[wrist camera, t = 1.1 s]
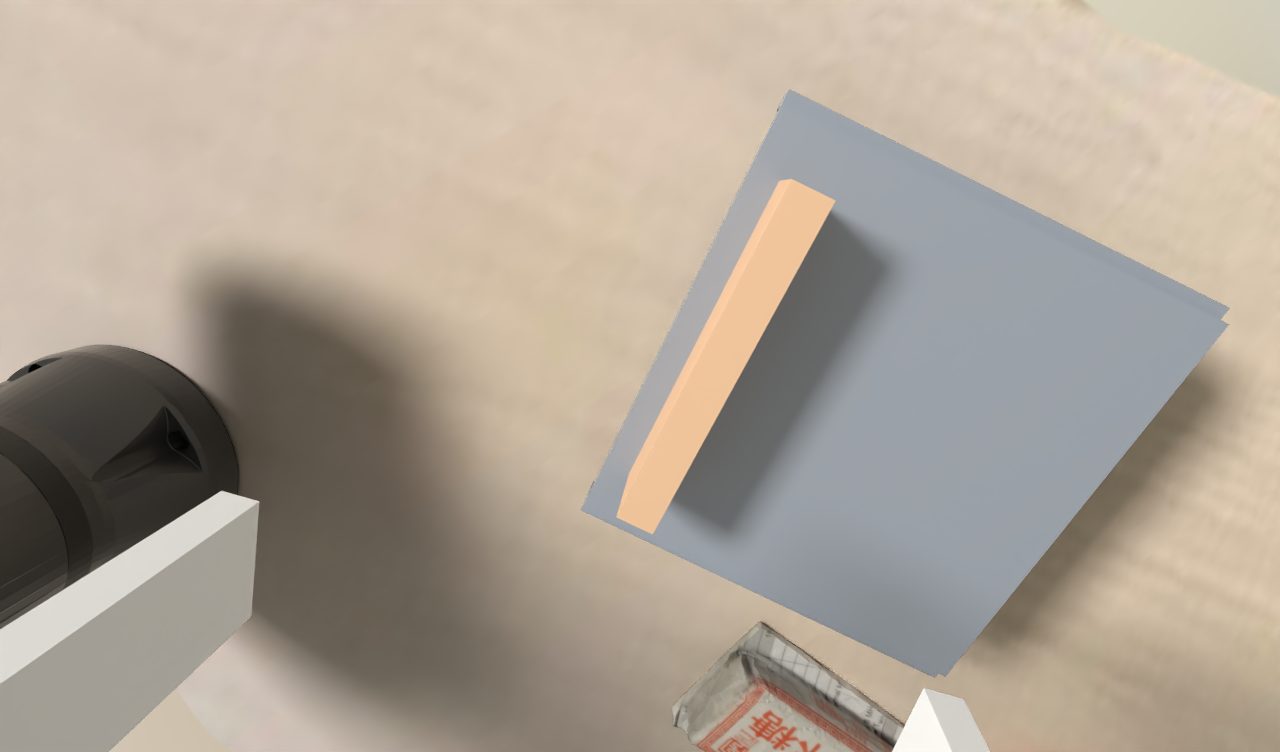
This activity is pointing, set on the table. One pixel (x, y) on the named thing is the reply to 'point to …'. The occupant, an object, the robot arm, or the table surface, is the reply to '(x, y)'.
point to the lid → (891, 390)
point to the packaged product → (780, 704)
